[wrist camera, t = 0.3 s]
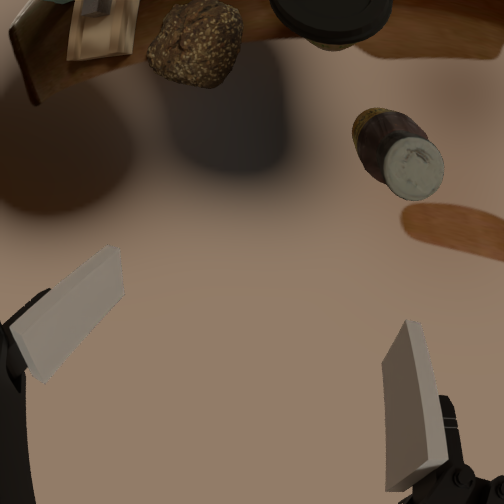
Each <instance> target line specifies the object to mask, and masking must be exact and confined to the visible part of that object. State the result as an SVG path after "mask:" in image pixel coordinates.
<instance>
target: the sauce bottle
mask: <svg viewBox="0 0 504 504" xmlns="http://www.w3.org/2000/svg"><path fill="white" fill-rule="evenodd" d="M352 138H353V141H354V144H355V148H356V151H357V153H358V156H359V158H360V160H361V162H362V163H363V166H364V168H365V170H366V171H367V172H368V173H369V174H370V175H371V176H372V177H374V178H375V179H376V180H378V181H379V182H382V183H384V184H386V185H387V186H388V187H389V188H390V190H391V191H392V192H393V193H394V194H396V195H397V196H399V197H400V198H403V199H405V200H411V201H418V200H423V199H425V198H427V197H429V196H430V195H432V194H433V193H435V192H436V191H437V189H438V188H439V186H440V185H441V183H442V179H443V175H444V163H443V159H442V156H441V154H440V152H439V151H438V149H437V148H436V147H435V145H434V144H433V143H431V142H430V141H429V140H428V137H427V135H426V133H425V132H424V131H423V130H422V129H421V128H420V127H419V126H418V125H417V124H416V123H415V122H414V121H413V120H412V119H411V118H409V117H408V116H406V115H405V114H402V113H399V112H396V111H392V110H388V109H384V108H371V109H368V110H366V111H364V112H362V113H361V114H360V115H359V116H358V117H357V118H356V120H355V122H354V124H353V128H352Z"/></svg>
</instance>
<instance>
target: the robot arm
mask: <svg viewBox="0 0 504 504" xmlns="http://www.w3.org/2000/svg"><path fill="white" fill-rule="evenodd" d="M124 295H125V294H124V286H123V276H122V266H121V255H120V248H118V247H114V246H111V245H106V246H105V247H104V248H102V249H101V250H100V251H98V252H97V253H96V254H95V255H93V256H92V257H91V258H90V259H88V260H87V261H86V262H85V263H83V264H82V265H81V266H79V267H78V268H77V269H76V270H75V271H73V272H72V273H71V274H69V275H68V276H67V277H66V278H65V279H63V280H62V281H61V282H60V283H58V285H56V286H55V287H54V288H53V289H50V288H48V289H46V290H44V291H42V292H40V293H38V294H37V295H36V296H35V297H33V298H32V299H31V301H29V302H28V303H26V304H25V306H23V307H22V308H21V309H20V310H18V312H16V313H15V314H14V315H13V316H12V317H11V318H10V319H9V320H7V321H6V322H5V323H4V324H3V325H2V324H1V322H0V504H36V501H35V496H34V490H33V484H32V478H31V471H30V463H29V453H28V442H27V428H26V376H25V372H24V371H25V369H26V368H27V367H28V368H29V370H30V372H31V374H32V376H33V377H35V378H36V379H38V380H39V381H41V382H42V383H44V384H46V382H47V381H48V380H49V379H50V378H51V377H52V375H53V374H54V373H55V372H56V371H57V370H58V368H59V367H60V366H61V365H62V364H63V362H64V361H65V360H66V359H67V358H68V357H69V356H70V354H71V353H72V352H73V351H74V350H75V349H76V348H77V346H78V345H79V344H80V343H81V342H82V341H83V340H84V339H85V337H86V336H87V335H88V334H89V333H90V332H91V331H92V330H93V329H94V328H95V326H96V325H97V324H98V323H99V322H100V321H101V320H102V319H103V318H104V316H105V315H106V314H107V313H108V312H109V311H110V310H111V309H112V308H113V307H114V306H115V305H116V304H117V303H118V302H119V300H120V299H121V298H122V297H123V296H124ZM382 372H383V386H384V402H385V425H386V486H385V491H386V492H404V491H405V490H407V489H409V488H410V487H412V486H413V494H411V495H409V496H408V497H406V498H404V499H403V500H401V501H400V502H399V503H398V504H402V503H403V504H504V476H503V475H501V476H498V477H497V478H495V479H494V480H492V481H488V480H485V479H481V478H478V477H475V474H474V471H473V470H472V469H471V468H470V466H468V465H466V464H464V461H463V455H462V448H461V442H460V436H459V430H458V429H457V427H458V425H457V420H456V414H455V410H454V406H453V404H452V402H451V401H450V399H449V398H448V396H444V395H438V391H437V386H436V381H435V377H434V372H433V368H432V364H431V360H430V356H429V352H428V348H427V344H426V340H425V336H424V333H423V329H422V326H421V323H420V322H415V321H410V320H405V322H404V324H403V326H402V328H401V329H400V331H399V333H398V335H397V337H396V339H395V341H394V342H393V344H392V346H391V348H390V349H389V351H388V353H387V355H386V357H385V358H384V360H383V362H382Z"/></svg>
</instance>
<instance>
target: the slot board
mask: <svg viewBox="0 0 504 504" xmlns="http://www.w3.org/2000/svg"><path fill="white" fill-rule="evenodd" d="M139 1H140V0H112V5H111V10H110V15H106V16H101V17H97V18H91V17H85V16H81V13H82V7H83V2H84V0H75V4H74V9H73V15H72V21H71V28H70V35H69V43H68V51H67V61H85V60H90V59H97V58H103V57H111V56H118V55H127V54H132V49H133V41H134V33H135V26H136V19H137V13H138V7H139Z"/></svg>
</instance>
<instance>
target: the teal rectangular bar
mask: <svg viewBox="0 0 504 504" xmlns="http://www.w3.org/2000/svg"><path fill="white" fill-rule="evenodd" d="M45 1H52V2H55V3H58V4H64V3H67V2H70V1H73V0H45Z"/></svg>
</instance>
